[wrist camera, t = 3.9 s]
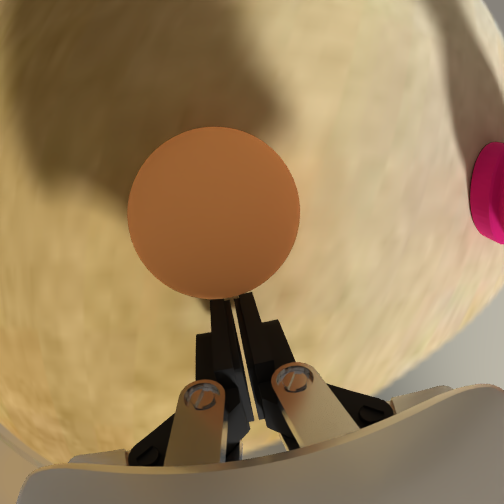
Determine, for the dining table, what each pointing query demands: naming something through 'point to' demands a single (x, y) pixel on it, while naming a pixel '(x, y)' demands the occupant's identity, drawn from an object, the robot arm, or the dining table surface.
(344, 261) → the dining table surface
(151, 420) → the dining table surface
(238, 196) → the ball
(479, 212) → the pepper mill
